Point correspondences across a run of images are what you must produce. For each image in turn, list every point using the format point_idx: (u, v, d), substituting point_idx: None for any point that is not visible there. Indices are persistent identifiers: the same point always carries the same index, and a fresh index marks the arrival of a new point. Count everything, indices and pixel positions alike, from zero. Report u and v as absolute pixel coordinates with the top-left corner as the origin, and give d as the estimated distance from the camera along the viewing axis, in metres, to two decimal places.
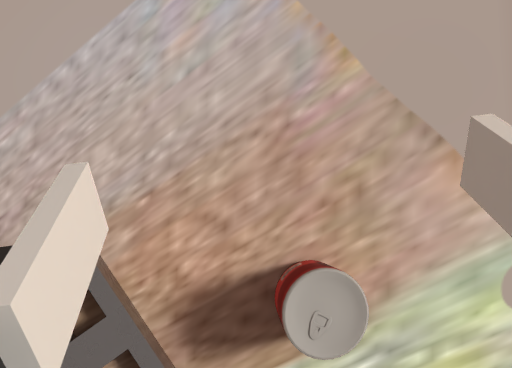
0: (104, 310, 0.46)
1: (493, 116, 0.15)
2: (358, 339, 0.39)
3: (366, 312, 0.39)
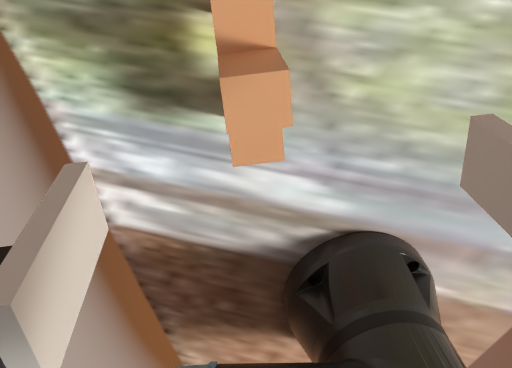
0: None
1: (493, 116, 0.15)
2: None
3: None
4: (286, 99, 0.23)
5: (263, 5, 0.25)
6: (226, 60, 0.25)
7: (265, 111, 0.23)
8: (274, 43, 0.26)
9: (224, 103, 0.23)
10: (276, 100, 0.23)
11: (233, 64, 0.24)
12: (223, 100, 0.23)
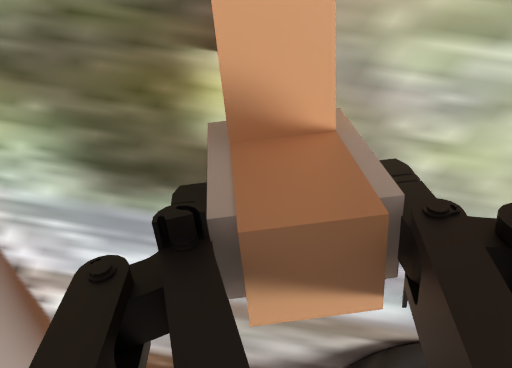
0: None
1: (338, 110, 0.17)
2: None
3: None
4: (375, 266, 0.11)
5: (316, 59, 0.13)
6: (247, 164, 0.13)
7: (330, 288, 0.11)
8: (332, 124, 0.14)
9: (247, 276, 0.11)
10: (356, 268, 0.11)
11: (262, 180, 0.12)
12: (245, 271, 0.11)
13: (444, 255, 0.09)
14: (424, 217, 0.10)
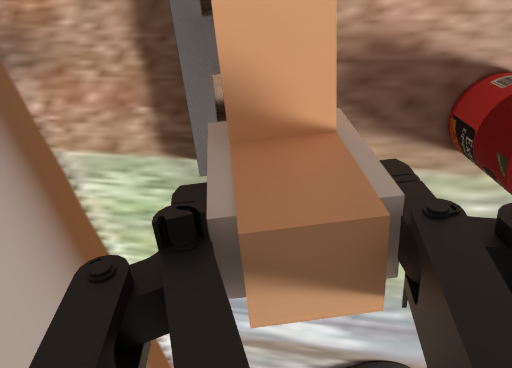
0: None
1: (338, 110, 0.17)
2: None
3: None
4: (376, 267, 0.11)
5: (317, 60, 0.13)
6: (247, 165, 0.13)
7: (331, 290, 0.11)
8: (333, 124, 0.14)
9: (247, 278, 0.11)
10: (357, 269, 0.11)
11: (263, 181, 0.12)
12: (245, 273, 0.11)
13: (444, 255, 0.09)
14: (424, 217, 0.10)
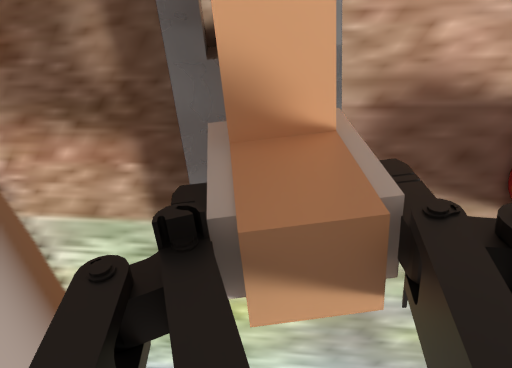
0: None
1: (338, 110, 0.17)
2: None
3: None
4: (376, 266, 0.11)
5: (317, 59, 0.13)
6: (247, 163, 0.13)
7: (331, 288, 0.11)
8: (333, 123, 0.14)
9: (247, 277, 0.11)
10: (356, 268, 0.11)
11: (263, 180, 0.12)
12: (245, 272, 0.11)
13: (444, 255, 0.09)
14: (424, 217, 0.10)
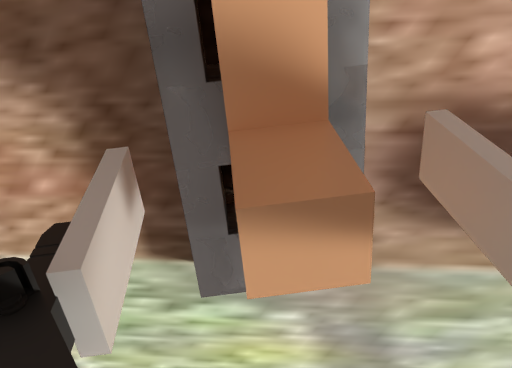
0: None
1: (446, 111, 0.16)
2: None
3: None
4: (363, 241, 0.12)
5: (310, 52, 0.14)
6: (244, 149, 0.14)
7: (322, 262, 0.12)
8: (325, 113, 0.15)
9: (244, 251, 0.12)
10: (345, 243, 0.12)
11: (259, 163, 0.13)
12: (242, 246, 0.12)
13: None
14: None
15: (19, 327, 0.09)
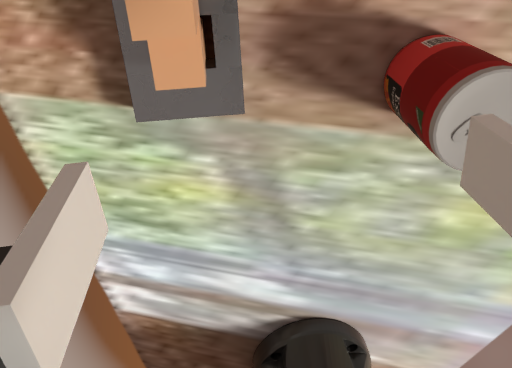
0: None
1: (493, 116, 0.15)
2: None
3: None
4: (188, 8, 0.24)
5: None
6: None
7: (168, 20, 0.24)
8: None
9: (128, 8, 0.24)
10: (179, 8, 0.24)
11: None
12: (126, 5, 0.24)
13: None
14: None
15: None
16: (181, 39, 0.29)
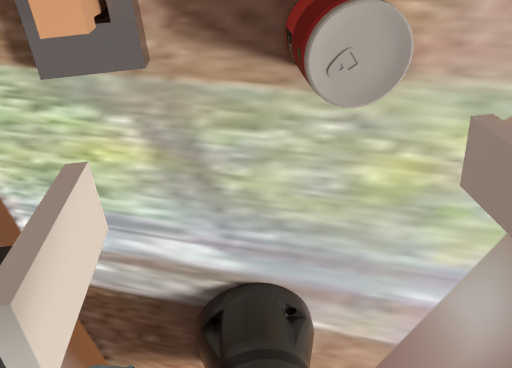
0: None
1: (493, 116, 0.15)
2: (372, 100, 0.33)
3: (399, 79, 0.33)
4: None
5: None
6: None
7: None
8: None
9: None
10: None
11: None
12: None
13: None
14: None
15: None
16: None
